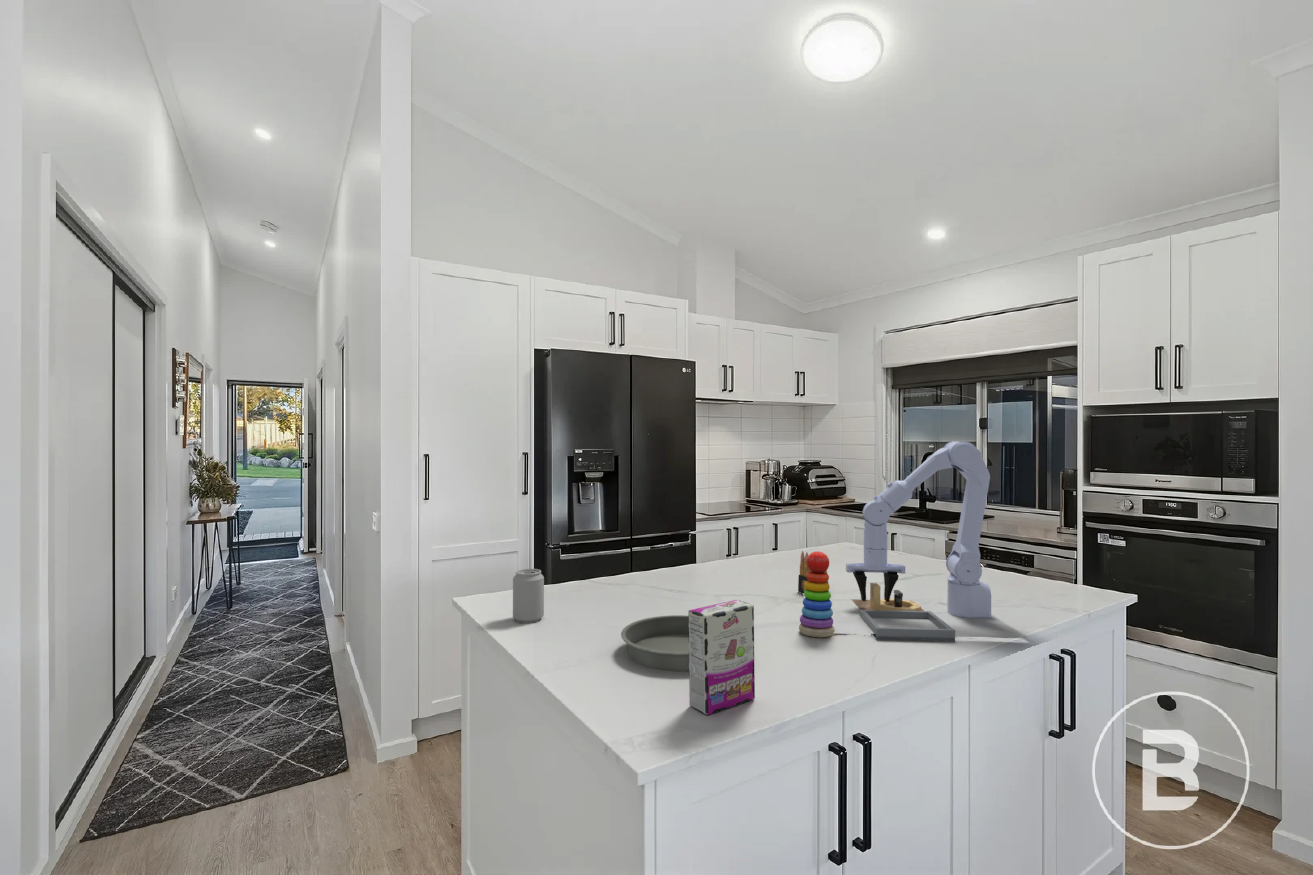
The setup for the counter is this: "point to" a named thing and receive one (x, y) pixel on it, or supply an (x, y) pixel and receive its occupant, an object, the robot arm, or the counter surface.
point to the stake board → (867, 604)
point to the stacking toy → (817, 599)
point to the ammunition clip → (803, 573)
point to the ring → (884, 605)
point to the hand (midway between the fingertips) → (875, 600)
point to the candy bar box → (721, 656)
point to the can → (528, 595)
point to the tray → (908, 633)
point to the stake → (898, 598)
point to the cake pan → (659, 642)
